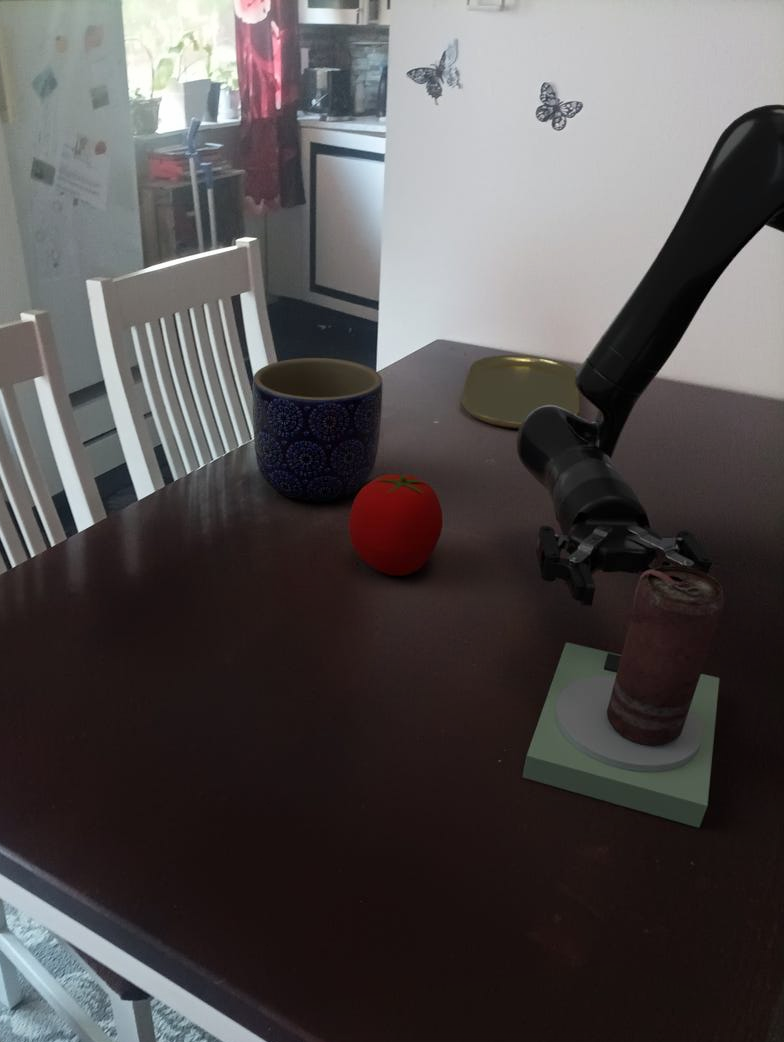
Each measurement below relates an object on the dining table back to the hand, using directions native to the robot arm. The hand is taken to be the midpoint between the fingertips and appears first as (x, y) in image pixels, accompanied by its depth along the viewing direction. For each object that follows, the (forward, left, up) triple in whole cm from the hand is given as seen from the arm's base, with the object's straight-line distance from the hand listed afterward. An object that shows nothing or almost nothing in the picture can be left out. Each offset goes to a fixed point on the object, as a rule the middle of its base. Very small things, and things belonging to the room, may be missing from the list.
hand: (641, 599), depth 74 cm
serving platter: (-48, -72, -13) cm, 88 cm away
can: (+2, +4, -10) cm, 11 cm away
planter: (+1, -56, -13) cm, 57 cm away
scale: (+1, +2, -13) cm, 13 cm away
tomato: (+3, -33, -13) cm, 35 cm away
